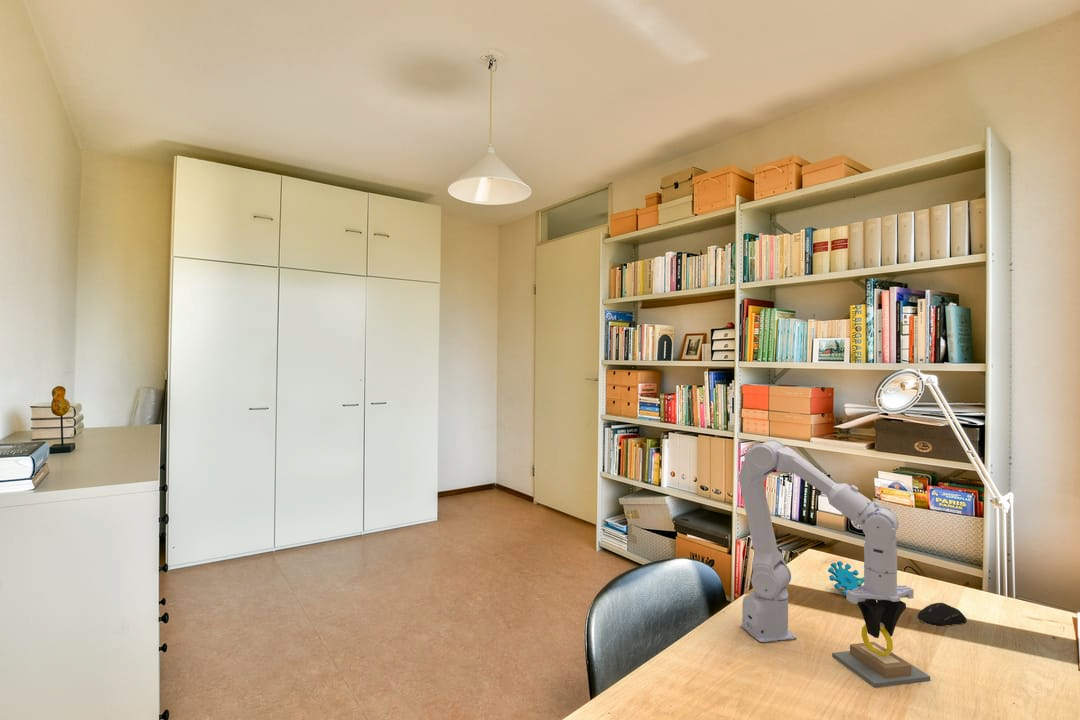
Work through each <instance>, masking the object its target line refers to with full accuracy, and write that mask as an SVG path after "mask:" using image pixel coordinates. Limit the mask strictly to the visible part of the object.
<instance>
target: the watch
mask: <svg viewBox="0 0 1080 720" xmlns="http://www.w3.org/2000/svg"><path fill="white" fill-rule="evenodd" d="M880 634H882V635H883V637H884V639H885V641H886V651H885V653H883V652H881V651H880V650H878V649H876V648H874V647H873V646H872V644H871V643H870V642H871V641H870V639H869V636H868V631H867V627H866V624H864V625H863V626H862V628H861V633H860V635H861V638H862V643H864V644H865V645H866V647H867V648H868V649H869V650H871V651H873V652H875V653H877V654H878V655H880V656H884V655H888V654H890V653H891V652H893V648H894V646H893V645H894V643H893V639H892V636H890V634H889V633H888V631H887V630H886V629H885V625H884V624H883V623H881V622H880Z"/></svg>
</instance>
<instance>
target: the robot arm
mask: <svg viewBox="0 0 1080 720" xmlns="http://www.w3.org/2000/svg"><path fill="white" fill-rule="evenodd" d="M775 469H776V470H775ZM774 470H775V471H776V472H778V473H779V472H780V473H791V474H793V475H795V476H797V477H798V478H801V479H802V480H803V481H805V482H806V483H807V484H809V485H810V486H813V487H814V488H815V489H816V490H818V491H820V492H822V493H823V494H824V495H825V496H826V497H827V501H828V504H829V505H830V506H831V507H833V508H834V509H836V510H837V511H839V512H840V514H843V515H844V516H845V517H846V518H847V519H849V520H851V521H852V522H854V523H855V524H856V525H859V526H860V527H861V530H862V532H863V534H864V535H865V536H864V537H865V538H864V544H863V577H864V583H863V584H862V586H860V587H858V588H855V589H852V590H847V591H846V596H845V597H846V601H848V602H849V603H851V604H853V605H856V604H857V607H858V608H859V610H860V612H861V614H862V617H863V619H864V623H865V624H866V627H867V635H870V636H871V637H872V638H874V639H879V637H880V634H881V631H880V622H881V623H883V624H884V625H885V629H886V630H887V631H888V633H889V634H890V636H891V637H893V635H894V631H895V629H896V626H897V624H898V621H899V619H900V617H901V615H902V614H903V612H904V611H905V610H906V609H907V603H906V602H904V601H902V600H901V599H903V598H906V599H911V600H912V599H914V598H915V597H914V596H915V595H914V593H915V592H914V589H913V588H912V587H909V586H907V585H898V548H897V544H898V543H897V536H896V535H897V531H898V529H899V519H898V517H897V515H896V514H895V513H894V512H893V511H892V510H891V509H890V508H889V507H887V506H881V504H880V503H879V502H878V501H875V502H874V501H872V500H871V499H869V498H868V497H867V496H865V495H864V494H862V493H861V492H859V491H858V490H859V487H858V486H856V485H854V484H852V485H850V484H848V483H837V482H835V481H834V480H833V479H832V478H830V477H829V476H827V475H826V474H825V473H823V472H822V471H821V470H819V469H818V468H817V467H815V466H814V465H813V464H811V463H810V462H809V461H808V460H806V459H805V458H803V456H801V455H800V454H798V453H797V452H796V451H795V450H794V449H792V448H791V447H789V446H785V444H783V443H782V442H781V441H779V440H777V439H776V440H775V439H770V440H767V441H765V442H762V443H757V444H756V443H755V444H754V445H752V446H751V447H750V448H749V449H748V450H747V451H746V452H745V454H744V460H743V463H742V466H741V468H740V471H739V473H738V482H739V486H740V491H741V496H742V500H743V506H744V509H745V510H744V511H745V516H746V519H747V525H748V529H749V534H750V538H751V543H752V547H753V552H754V553H753V557H752V563H751V567H752V575H751V578H750V581H751V587H752V588H753V592H751V593H749V594H746V595H745V596H744V597H743V599H742V614H741V616H742V623H740V627H741V628H743V630H745V631H746V632H747V633H748V634H750V636H752V637H753V638H754V637H755V638H754V639H756V641H758V642H759V643H768V642H769V641H770V642H777V641H778V640H780V641H786V639H789V640H796V639H797V638H798V637H797V635H796V634H794V633H793V632H792V631H790V630H789V592H788V589H787V586H788V585H789V584H790V582H791V580H792V572H791V569H790V568H789V567H788V565H787V564H786V563H785V560H784V556H783V554H782V553H781V551H780V550H779V549H778V544H777V540H776V536H775V531H774V530H775V529H774V527H773V522H772V517H771V512H770V508H769V502H768V499H767V494H766V488H765V484H764V482H765V480H766V479H767V478H769V477H768V476H769V475H770V474H771V473H772V471H774ZM865 624H864V625H865Z"/></svg>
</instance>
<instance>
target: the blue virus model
mask: <svg viewBox="0 0 1080 720" xmlns="http://www.w3.org/2000/svg"><path fill="white" fill-rule="evenodd" d="M830 566H831V567H829V568H828V569H827V572H828V573H830V575H829V577H828V578H829V580H830V581H833V582H836V583H835V584H833V585H834V588H835V589H836V590H839V589H840V588H844V590H842V591H841V593H842V595H844V596H845V597H846V591H847V590H852V589H855V588H858V587H860V586H863V584H864V576H863V577H858V575H859V571H858V570H857V569H854V570H853V571H851V570H850V569H851V568H852V566H851V565H850V564H849V563H846V564H845V565H844V563H843V561H840V560H838V561H837V562H831V563H830ZM843 566H844V568H843Z"/></svg>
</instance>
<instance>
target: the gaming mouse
mask: <svg viewBox="0 0 1080 720" xmlns="http://www.w3.org/2000/svg"><path fill="white" fill-rule="evenodd" d="M917 619H919V620H918V621H919V622H923V623H925V622H926V624H929V625H931V626H934V625H936V626H935V627H946V626H945V625H950V626H953V625H952V624H959V625H962V624H961V623H963V624H965V623H967V617H966V616H965V615H964V614H963V613H962V611H961V610H959V608H956V607H954V606H952V605H949V604H947V603H944V602H936V603H931V604H929V605H927V606H924V607H923V608H922V609H921V610H920V611H919V612H918V613H917ZM918 621H917V622H918ZM917 622H915V624H918V623H917ZM964 622H965V623H964Z"/></svg>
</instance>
